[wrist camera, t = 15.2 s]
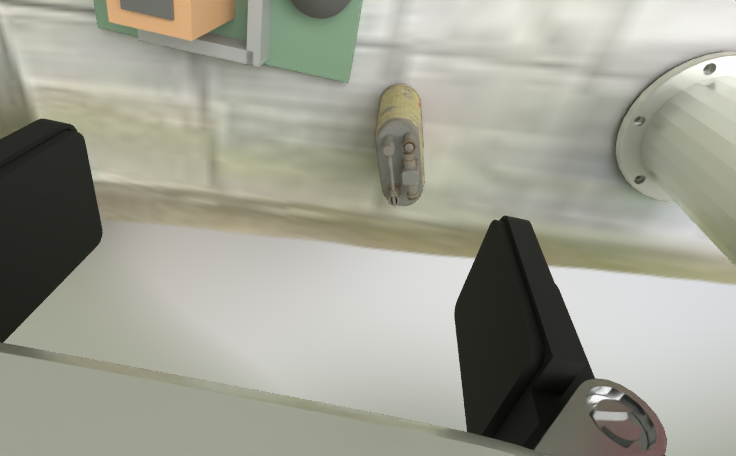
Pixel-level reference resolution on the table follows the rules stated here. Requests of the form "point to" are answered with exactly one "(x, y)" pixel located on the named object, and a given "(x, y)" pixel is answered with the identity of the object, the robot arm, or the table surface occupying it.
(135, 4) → the chute block
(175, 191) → the table surface
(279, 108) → the table surface
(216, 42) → the green walled tray
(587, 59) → the table surface
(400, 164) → the lighter
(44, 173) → the robot arm
